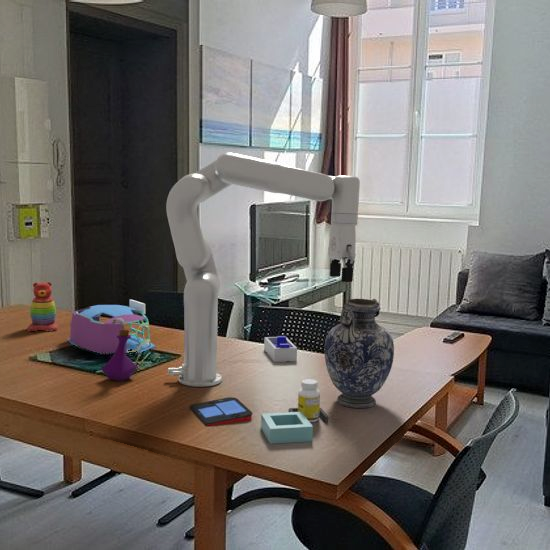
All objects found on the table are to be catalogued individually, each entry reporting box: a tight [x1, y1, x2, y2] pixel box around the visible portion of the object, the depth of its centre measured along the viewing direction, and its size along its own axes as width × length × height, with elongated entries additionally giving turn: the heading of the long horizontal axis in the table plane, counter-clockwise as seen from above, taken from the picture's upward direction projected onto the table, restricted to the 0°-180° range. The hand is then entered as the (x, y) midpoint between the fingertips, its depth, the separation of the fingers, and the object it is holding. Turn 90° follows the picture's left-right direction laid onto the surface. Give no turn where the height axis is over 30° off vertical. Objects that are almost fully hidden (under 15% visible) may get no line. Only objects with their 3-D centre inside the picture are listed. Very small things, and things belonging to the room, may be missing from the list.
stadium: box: [67, 299, 157, 354], centre depth 237 cm, size 35×24×14 cm
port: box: [260, 411, 314, 445], centre depth 159 cm, size 10×10×4 cm
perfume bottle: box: [101, 318, 138, 382], centre depth 196 cm, size 8×8×18 cm
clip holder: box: [263, 336, 298, 363], centre depth 229 cm, size 8×16×4 cm, turn 13°
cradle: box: [287, 407, 329, 423], centre depth 170 cm, size 9×7×2 cm
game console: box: [189, 396, 253, 427], centre depth 172 cm, size 14×13×2 cm
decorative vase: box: [324, 298, 395, 409], centre depth 182 cm, size 21×19×28 cm
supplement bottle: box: [297, 378, 321, 423], centre depth 169 cm, size 5×5×10 cm
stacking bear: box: [26, 282, 59, 332], centre depth 256 cm, size 11×10×18 cm
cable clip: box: [274, 335, 289, 348], centre depth 227 cm, size 12×4×6 cm, turn 5°
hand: (340, 279), depth 195 cm, fingers open, 9 cm apart
